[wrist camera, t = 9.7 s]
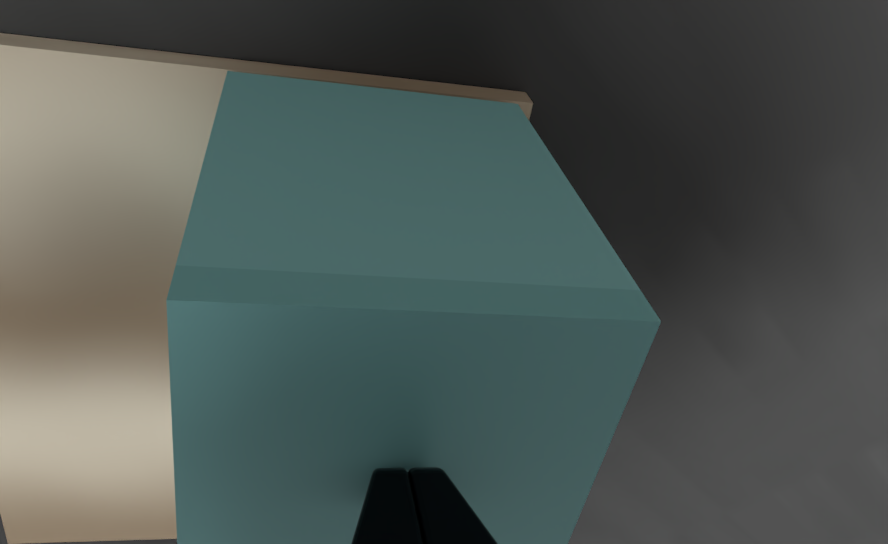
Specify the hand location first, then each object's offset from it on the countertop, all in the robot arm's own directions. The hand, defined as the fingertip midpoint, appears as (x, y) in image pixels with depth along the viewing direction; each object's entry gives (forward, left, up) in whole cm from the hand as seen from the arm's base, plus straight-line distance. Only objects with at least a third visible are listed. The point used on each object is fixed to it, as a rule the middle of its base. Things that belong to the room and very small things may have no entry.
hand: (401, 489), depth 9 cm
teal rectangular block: (0, 0, -7) cm, 7 cm away
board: (-4, +2, -8) cm, 9 cm away
